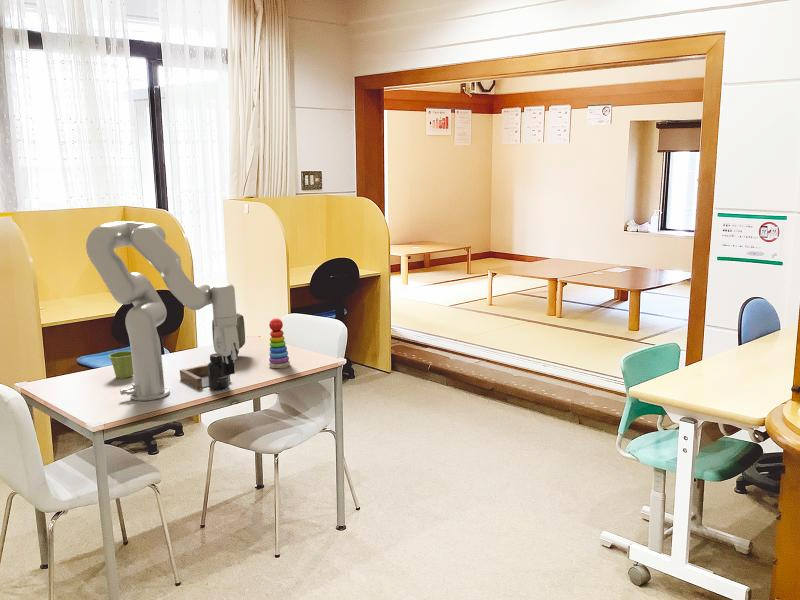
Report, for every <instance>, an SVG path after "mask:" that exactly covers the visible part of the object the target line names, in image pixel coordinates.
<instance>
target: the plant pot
mask: <svg viewBox="0 0 800 600" xmlns="http://www.w3.org/2000/svg"><path fill="white" fill-rule="evenodd" d="M108 358H109V359H110V361H111V363H112V367H113V370H114V375H115V378H116V377H117V378H118V379H120V378H121V379H127V378H130V377H134V375H133V365H132V356H131V350H124V351H123V350H122V351H117V352H113V353H110V354H109V355H108Z"/></svg>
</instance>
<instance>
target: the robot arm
mask: <svg viewBox="0 0 800 600" xmlns="http://www.w3.org/2000/svg"><path fill="white" fill-rule="evenodd" d="M120 247H130V248H131V247H133V248H134V249H136V251H137V252H138V253H139V254H140V255H141V256H142V257H143V258H144V259H146V260H147V262H148V263H149V264H150V265H151V266H152V267H153V268H155V270H156V271H157V272H158V273H159V274H160V276H161V278H162V280H163V282H164V284H165V286H166V287H167V289H168V290H169V292H170V293H171V294H172V295H173V296H174V297H175V299H177V300H178V301H179V302H180V303H181V304H182V305H183V306H184V307H186V308H187V309H189V310H192V311H198V310H201V309H203V308H204V307H207V306H209V305H212V316H213V317H212V318H213V319H214V344H213V349H214V352H215V353H218V354H220V355H221V356H222V361H223V368H224V374H225V375H230V376H231V375H234V374H235V371H236V370H235V360H237V359H238V358H237V357H236V355H237V354H238V355H239V353H240V349H239V341H238V334H237V328H236V325H237V315H236V313H237V305H236V291H235V286H234V285H233V284H232V283H215V284H214V283H209V282H201V283H197V284H195V283H193V282H192V281H191V279H190V278H189V277H188V276H187V275H186V273H185V272H184V270H183V267H182V260H181V256H180V254H178V252H177V251H175V249H174V248H173V247H171V245H169V244H168V243H167V242H166V233H165V230H164V229H163V228H162V227H161V225H158V224H155V223H151V222H147V223H146V222H136V221H125V220H124V221H123V220H122V221H121V220H119V221H111V222H106V223H102V224H99V225H97V226H95V227H94V228H93V229H92V230H91V231H90V233H89V234H88V236H87V238H86V243H85V249H86V254H87V257H88V258H89V261H90V262H91V264H92V265H93V267H94V268H95V270H96V271H97V273H98V274H99V276H100V278H101V279H102V281H103V283H104V284H105V285H106V287H107V289H108V290H109V292H110V294H111V295H112V297H113V299H114V300H115V302H117V303H118V304H121V305H130V304H132V305H133V307H131V308H130V309H129V310H128V311H127V313H126V316H125V321H124V323H125V328H126V332H127V334H128V335H127V336H128V340H129V345H130V351H131V356H132V365H133V383H131V386H129V387H127V388H121V389H120V390H119V394H120V395H121V396H123V395H127V396H129V395H130V398H131V400H134V401H140V402H141V401H142V402H143V401H144V402H145V401H153V400H157V399H159V400H160V399H162V398H165V397H166V396H168V395H169V394H170V393H171V390H170V388H169V387H167V386H165V380H164V378H165V377H164V367H163V358H162V348H161V341H160V336H159V333H158V330H157V327H159V326H161V325H162V324H163V323H164V322H165V321H166V318H167V314H168V313H167V312H168V311H167V308H166V305H165V304H164V302H163V300H162V298H161V297H160V295H159V294H158V292H157V290H156V289H155V287H154V286H153V284H152V282H151V280H149V278H148V277H147V276H145V274H142V273H140V272H135V271H134V272H130V270H129V269H128V267H127V265H126V264H125V262H124V260H123V259H122V258H121V257H120V256H119V255H118V254H117V253H116V251H115V249H117V248H120Z"/></svg>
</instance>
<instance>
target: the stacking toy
mask: <svg viewBox="0 0 800 600" xmlns="http://www.w3.org/2000/svg"><path fill="white" fill-rule="evenodd" d="M283 327H284V325H283V321H282V320H281V319H279V318H272V319H270V321H269V329H270V330H271V331H270V333H269V335H270V337H269V341H270V342H269V346H270V348H269V351H270V352H269V363H268V365H269V366H268V367H270V368H271V369H275V368H280V369H285V368H288V367H289V366H291V365H290V364H291V362H290V357H289V352H288V347H287V346H286V341H285V336H284V331H283V330H282V329H283Z"/></svg>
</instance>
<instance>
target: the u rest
mask: <svg viewBox="0 0 800 600" xmlns="http://www.w3.org/2000/svg"><path fill="white" fill-rule="evenodd" d="M208 364H209V363H208ZM208 364H201V365H198V366H192V367H188V368H184V369H179V376H180V380H181V381H182V380H183V381H182V382H184V383H185V384H188V385H190V386H191V385H192V387H193V386H194V387H193V388H195V387H196V388H195V389H197V390H199V389H200V388H201V389H204V387H205V388H209V379H208ZM228 377H229V381H230V382H231V375H228Z"/></svg>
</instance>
